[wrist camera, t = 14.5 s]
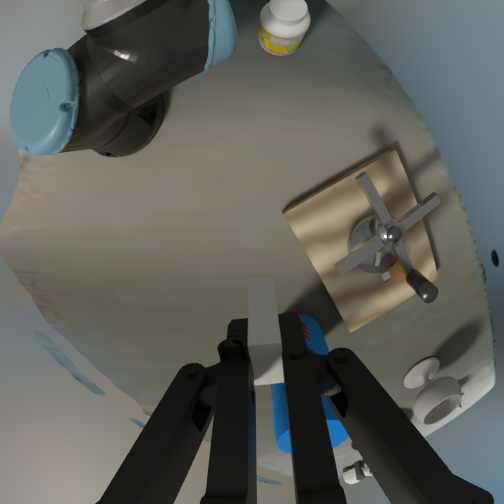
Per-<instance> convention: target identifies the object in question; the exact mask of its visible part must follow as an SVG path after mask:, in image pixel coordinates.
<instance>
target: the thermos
mask: <svg viewBox="0 0 504 504" xmlns="http://www.w3.org/2000/svg"><path fill="white" fill-rule="evenodd" d="M296 314H297V315H298V316H299V317H300V320H301V324H302V328H303V332H304V336H305V340H306V344H307V347H308V348H309V350H310V351H312V352H314V353H316V354H321V355H328V353H329V350H328V347H327V344H326V341H325V338H324V335H323V333H322V331H321V328H320V326H319V324H318V323H317V321H316V320H315V318H313V317H311V316H310V315H308V314H304V313H296ZM271 390H272V405H273V420H274V434H275V438H276V443H277V445H278V448H279V449H281V450H282V451H284V452H286V453H290V454H291V445H290V435H289V425H288V416H287V406H286V400H285V387H284V383H274V384H271ZM321 398H322V403H323V407H324V412H325V416H326V421H327V425H328V430H329V435H330V439H331V444H332V448H334V447H336V446H338V445H339V444H341V443H342V442H343V441H345V440H346V439H347V438H348V436H349V435H348V433H347V432H346V430H345V429H344V427H343V425H342V424H341V422H340V420H339V419H338V417H337V415H336V414H335V412H334V411H333V409H332V407H331V406H330V404H329V402H328V401H327V399H326V397H325V395H321Z"/></svg>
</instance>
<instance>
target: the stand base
mask: <svg viewBox="0 0 504 504" xmlns="http://www.w3.org/2000/svg"><path fill="white" fill-rule="evenodd" d="M362 172H366V173H367V174H368V175H369V177H370V179H371V181H372V182H373V184H374V186H375V188H376V190H377V191H378V193H379V195H380V197H381V199H382V201H383V203H384V205H385V207H386V208H387V210H388V212H389V214H390V215H391V216H393V217H395V218H396V219H399V218H400V217H401V216H403V215H404V214H405V213H407V212H408V211H409V210H411V209H412V208H413V207H414V206H416V205H417V202H416V199H415V196H414V193H413V191H412V188H411V185H410V183H409V180H408V178H407V175H406V173H405V170H404V168H403V165H402V163H401V161H400V158H399V156H398V154H397V152H396V150H393V149H390V150H388V151H386V152H384V153H383V154H381V155H379V156H377V157H375V158H374V159H372V160H370V161H368V162H366V163H365V164H363V165H361V166H359V167H358V168H356V169H354V170H352V171H351V172H349V173H347V174H345V175H343V176H342V177H340V178H338V179H336V180H335V181H333V182H331V183H329V184H328V185H326V186H324V187H322V188H321V189H319V190H317V191H316V192H314V193H312V194H310V195H309V196H307V197H305V198H303V199H302V200H300V201H298V202H297V203H295V204H293V205H291V206H290V207H288V208H286V209H285V210H283V211H282V212H283V214H284V216H285V218H286V219H287V221H288V223H289V224H290V226H291V228H292V229H293V231H294V233H295V234H296V236H297V238H298V240H299V241H300V243H301V245H302V246H303V248H304V250H305V252H306V253H307V255H308V257H309V259H310V260H311V262H312V264H313V266H314V267H315V269H316V271H317V273H318V274H319V276H320V278H321V280H322V282H323V283H324V285H325V287H326V289H327V291H328V292H329V294H330V296H331V298H332V300H333V301H334V303H335V305H336V307H337V309H338V311H339V313H340V314H341V316H342V318H343V320H344V322H345V324H346V326H347V328H348V330H349V331H350V333H351V332H353V331H354V330H356V329H358V328H360V327H362V326H363V325H365V324H367V323H369V322H370V321H372V320H374V319H376V318H377V317H379V316H381V315H382V314H384V313H386V312H387V311H389V310H391V309H392V308H394V307H395V306H397V305H399V304H400V303H402V302H403V301H405V300H406V299H408V298H410V297H411V296H413V295H414V294H416V292H415V291H414V290H413V289H412V288H411V287H410V286H409V285H408V284H407V282H406V277H404V278H403V279H402V280H394V279H392V278H391V277H390V275H389V272H388V269H387V270H386V271H383V272H380V273H367V272H364V271H362V270H361V269H360V268H359V267H358V266H356V267H354V268H353V269H352V270H350V271H349V272H347V273H346V274H344V275H343V276H341V274H340V273H339V271H338V269H337V268H336V266H335V265H334V264H335V263H337V262H338V261H340V260H341V259H343V258H344V257H346V256H347V255H349V252H348V238H349V234H350V232H351V230H352V228H353V227H354V225H355V224H356V223H357V222H358V221H359V220H360V219H361V218H363V217H364V216H366V215H369V214H373V213H374V211H373V209H372V207H371V206H370V204H369V202H368V200H367V198H366V197H365V195H364V193H363V191H362V190H361V188H360V186H359V185H358V183H357V181H356V180H355V177H356V176H358V175H359V174H361V173H362ZM404 246H405V248H406V251H407V253H408V255H409V257H410V260H411V262H412V265H413V267H414V269H416V270H418V271H419V272H420V273H421V274H422V275H424V276H425V277H426V278H427V279H428V280H429V281H430V282H431V283H432V282H433V281H435V280H436V279H438V275H437V270H436V266H435V262H434V258H433V254H432V250H431V246H430V243H429V239H428V236H427V232H426V229H425V226H424V223H423V219H422V218H421V219H420V220H419V221H417V222H416V223H415V224H413V225H412V226H411V227H410V228H408V229H407V230H406V234H405V238H404Z"/></svg>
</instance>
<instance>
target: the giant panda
mask: <svg viewBox="0 0 504 504" xmlns="http://www.w3.org/2000/svg"><path fill="white" fill-rule="evenodd" d="M348 468H349V467H345V468H343V477H344V480H345V482H346V484H347V483H349V484H353V483H357V482H359V481H360V480H362V479H364V478H365V477H369V478H371V477H370V476H372V475H373V474H372V472H371V471H370V469H369V467H367V468H365V467H364V462H361V463H360V461H357V462H355V467H354V468H352V467H351V468H349V469H348Z"/></svg>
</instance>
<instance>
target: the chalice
mask: <svg viewBox="0 0 504 504" xmlns="http://www.w3.org/2000/svg"><path fill="white" fill-rule="evenodd" d="M439 365H440V361H439V359H438V358H435V357H431V358H427V359H425V360H423V361H421V362H419V363H418V364H416V365H415V366H414V367H413V368H412V369H411V370H410V371H409V372H408V373H407V375H406V376H405V379H404V386H405V387H407V388H416V387H419V386H421V385H423V384H424V388H423V389H422V390H421V391H420V393H419V394H418V395H417V397H416V399H415V401H414V404H413V411H414V414H415V416H416V417H417V418H418V419H419V420H420V421H421V422H423V423H424V424H433V423H436V422H438V421H440V420H442V419H443V418H445V417H446V416H448V415H449V414H450V413H451V412H452V411H453V410H454V409H455V408H456V407H457V406H458V405H459V403H460V401H461V398H462V392H461V388H460V385H459V383H458V381H457V380H456V379H455V378H453V377H448V376H447V377H442V378H438V379H436V380H434V381H432V380H430V379H431V378H432V377H433V376H434V375H435V374H436V372H437V370H438V368H439Z"/></svg>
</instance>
